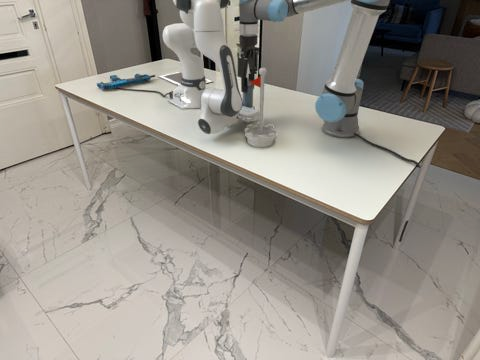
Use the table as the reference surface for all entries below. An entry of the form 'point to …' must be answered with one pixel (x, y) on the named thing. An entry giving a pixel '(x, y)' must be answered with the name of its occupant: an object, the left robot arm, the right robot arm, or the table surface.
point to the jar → (247, 97)
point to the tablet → (176, 78)
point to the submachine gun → (123, 81)
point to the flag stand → (260, 120)
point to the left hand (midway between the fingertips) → (248, 106)
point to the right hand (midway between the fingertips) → (247, 90)
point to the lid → (249, 82)
